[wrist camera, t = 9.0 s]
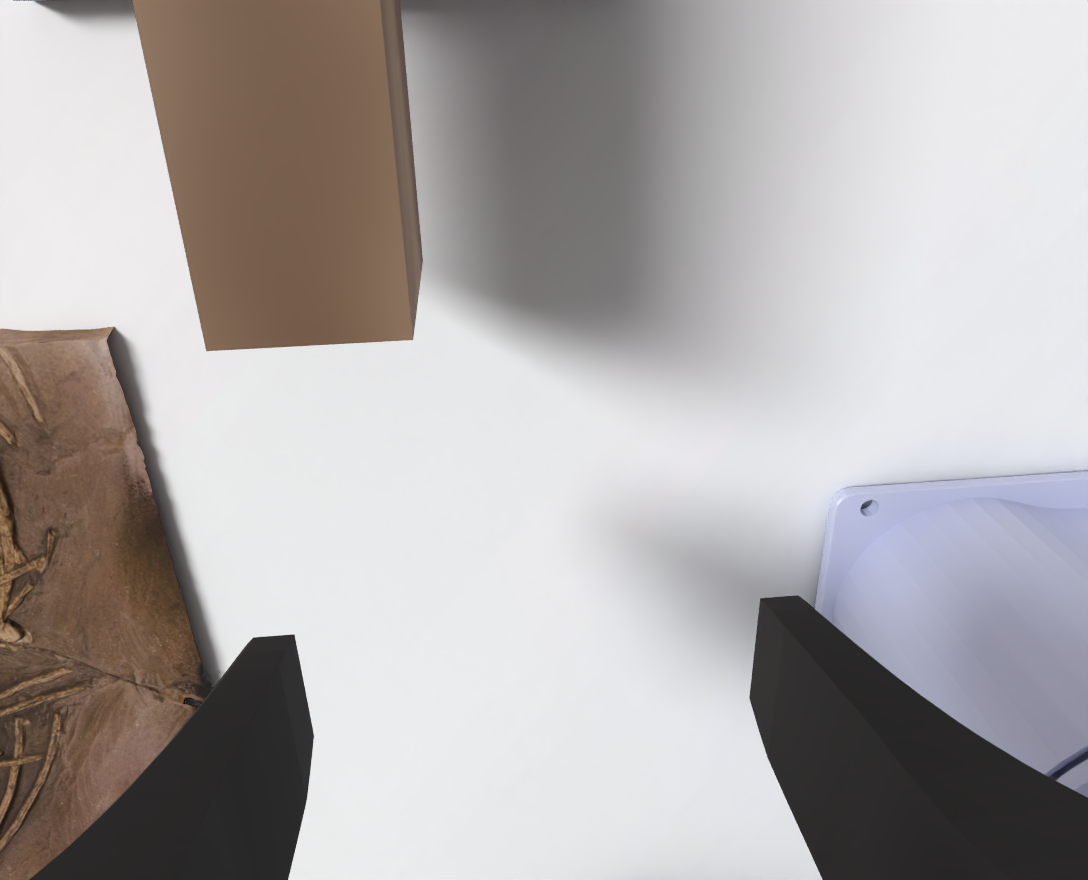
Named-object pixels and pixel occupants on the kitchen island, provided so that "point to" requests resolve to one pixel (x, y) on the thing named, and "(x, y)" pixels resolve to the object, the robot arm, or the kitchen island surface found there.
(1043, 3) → the kitchen island surface
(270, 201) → the walnut beam
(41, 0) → the fulcrum stand
